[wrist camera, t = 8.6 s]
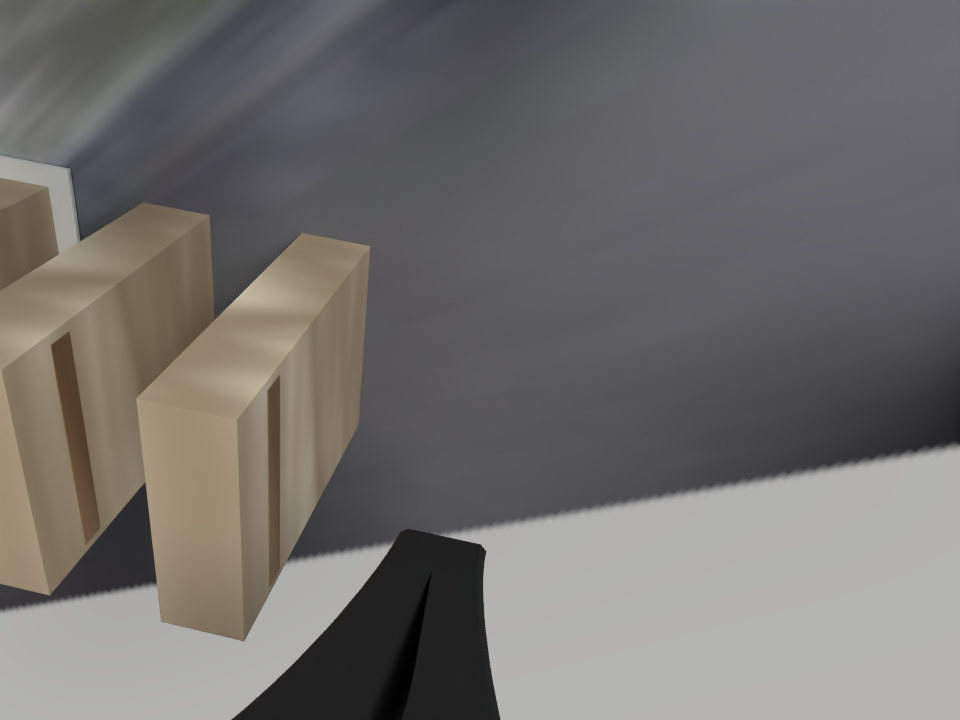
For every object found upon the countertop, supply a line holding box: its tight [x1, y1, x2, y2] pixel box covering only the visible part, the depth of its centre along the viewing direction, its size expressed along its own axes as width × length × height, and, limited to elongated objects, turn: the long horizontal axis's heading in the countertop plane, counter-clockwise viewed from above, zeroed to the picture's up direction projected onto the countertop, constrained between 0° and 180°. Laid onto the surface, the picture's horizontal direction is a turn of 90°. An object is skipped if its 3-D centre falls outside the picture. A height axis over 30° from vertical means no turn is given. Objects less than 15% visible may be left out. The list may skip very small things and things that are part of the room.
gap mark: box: [0, 155, 80, 254], centre depth 20 cm, size 3×6×1 cm, turn 173°
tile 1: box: [136, 233, 370, 641], centre depth 16 cm, size 2×5×7 cm, turn 173°
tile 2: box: [0, 203, 215, 595], centre depth 17 cm, size 2×5×7 cm, turn 173°
